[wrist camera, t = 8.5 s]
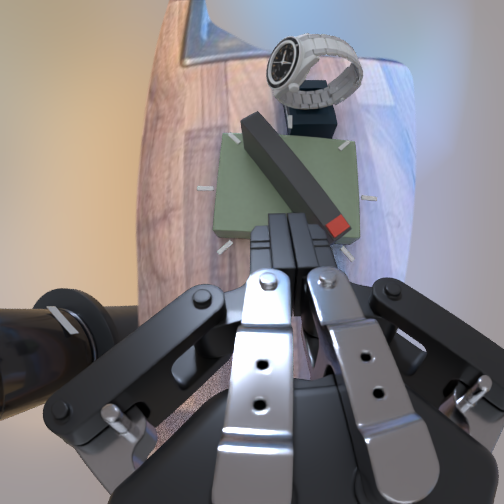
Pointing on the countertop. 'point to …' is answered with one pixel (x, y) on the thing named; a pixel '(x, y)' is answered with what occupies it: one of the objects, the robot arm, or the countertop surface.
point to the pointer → (291, 177)
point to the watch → (311, 82)
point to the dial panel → (266, 196)
